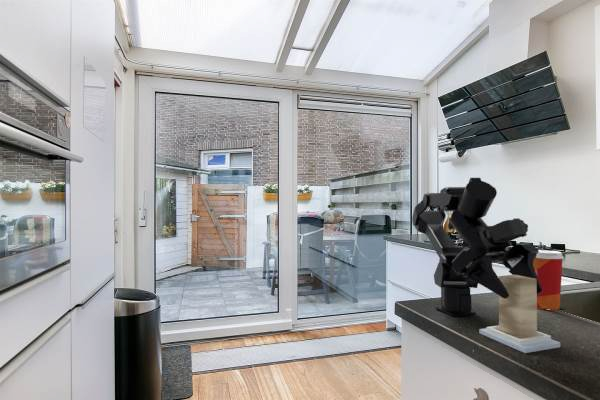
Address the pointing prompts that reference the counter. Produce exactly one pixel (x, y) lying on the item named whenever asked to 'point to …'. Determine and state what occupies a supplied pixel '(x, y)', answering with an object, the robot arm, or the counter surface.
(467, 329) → the counter surface
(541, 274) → the paper cup
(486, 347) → the counter surface
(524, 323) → the birch pillar
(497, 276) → the robot arm
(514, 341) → the board
